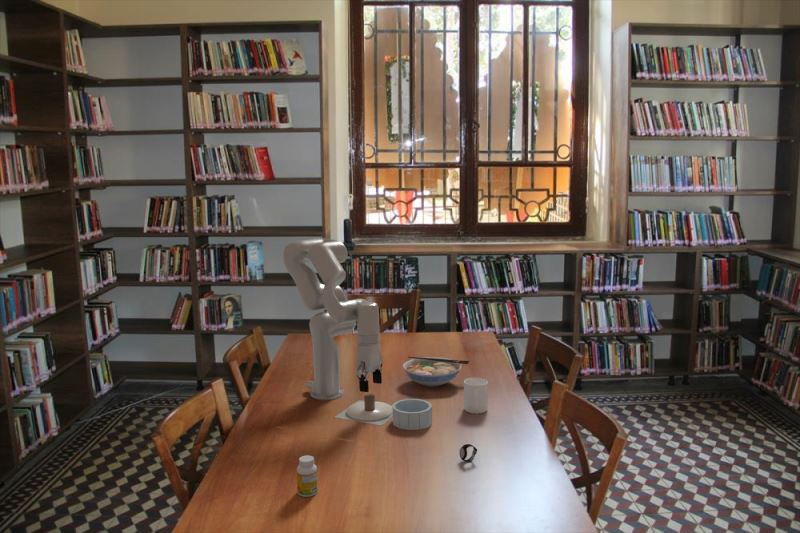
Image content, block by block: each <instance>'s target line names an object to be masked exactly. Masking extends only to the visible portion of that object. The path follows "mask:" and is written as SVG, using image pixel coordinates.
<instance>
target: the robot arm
mask: <svg viewBox="0 0 800 533" xmlns="http://www.w3.org/2000/svg"><path fill="white" fill-rule="evenodd" d="M282 251H283V252H282V253H283V255H282V259H283V263H284V266H285V268H286V270H287V272H288V274H289V275H290V276H291V278H292V280H293V281H294V284H295V285H296V288H297V291H298V293H299V295H300V297H301V301H302V303H303V305H304V306H305V308H306V310H307V311H309V312H313V313H314V312H318V313H316V314H313V316H312V317H311V318H310V320H309V325H308V326H309V330H310V335H311V340H312V356H313V380H307V382H306V384H305V385H306V386H305V387H306V388H310V389H311V390H310V392H309V394H310V395H309V396H310V397H311V398H312V399H314V400H319V401H332V400H336V399H340V398H342V397H343V396H344V395H345V390H344V389H343V388H341V378H340V377H341V376H340V374H341V373H340V372H341V371H340V369H341V368H340V349H339V344H338V343H337V342H336V340H335V339H334V337H336V336H341V335H346V334H349V333H351V332H353V330H354V329H355V326H357V327H356V330H357V349H356V375H357V378H358V382H359V384H358V385H359V386H358V388H359V392H362V393H368V392H369V389H370V388H369V387H370V386H369V380H368V378H369V375H370V374H372V383H373V384H379V385H380V384H382V382H383V379H382V377H383V376H382V371H383V368H382V367H383V359H384V358H383V357H382V353H381V352H382V351H381V338H380V337H381V335H380V334H381V333H380V329H381V328H380V313H379V311H380V310H379V309H380V308H379V304H378V303H376V302H374V301H368V300H367V299H364V298H355V299H349V300H348V298H347V296H346V294H345V292H344V290H343V288H342V287H341V286H340V285H341V284H342V283H343V282H344V280H346V277H347V275H346V274H347V272H346V271H345V270H344V268H343V266H342V263H344V262H345V261H346V260H347V259H348V254H349V253H348V249H347V247H346V246H345V244H344V243H343V242H341V241H339V240H337V239H331V238H325V237H318V238H317V237H316V238H311V239H310V238H309V239H299V240H294V241H290V242H289V243H287V244H286V245H285V246H284V248H283V250H282ZM306 263H312V265H313V267H314V269H315V270H316V272H317V273H316V272H315V271H314V269H312V268H311V267H310V266H309V265H307V264H306ZM317 274H318V275H317ZM318 276H319V277H320V278H321V280H322V282H323V283H321V282H320V280H319V277H318Z"/></svg>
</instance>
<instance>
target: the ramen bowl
mask: <svg viewBox="0 0 800 533" xmlns="http://www.w3.org/2000/svg"><path fill="white" fill-rule="evenodd" d="M407 358H409V360H408V361H407V360H406V361H405V362H404V363H403V364H402V368H403V369H404V371H405V373H406V374H407V376H408V377H409V379H411V380H412V381H413V382H415V383H417V384H420V385H423V386H425V387H432V388H434V387H440V386H442V385H445V384H447V383H449V382H452V381H453V380H455V378H456V377H457V375H458V374H459V373H460V371H461V368H462V364H463V365H468V364H469V363H470V360H462V359H461V360H460V359H459V360H458V359H452V358H447V357H439V356H438V357H437V356H425V357H417V356H416V357H415V356H414V357H413V356H407Z"/></svg>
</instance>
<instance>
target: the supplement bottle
mask: <svg viewBox="0 0 800 533" xmlns="http://www.w3.org/2000/svg"><path fill="white" fill-rule="evenodd" d="M296 484H297V485H296V487H297V488H296V491H297V494H298V495H299V496H301V497H304V498H309V497H313V496H316V495H317V493H318V492H319V491H318V490H319V488H318V467H317V465H316V464H315V457H314V456H312V455H307V454H306V455H303V456H300V457H299V459H298V466H296Z"/></svg>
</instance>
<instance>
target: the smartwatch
mask: <svg viewBox="0 0 800 533" xmlns="http://www.w3.org/2000/svg"><path fill="white" fill-rule="evenodd" d="M470 447H472V448H473V450H472V453H471V456H470V457H469V458H468V459H467V456H468V448H470ZM477 453H478V449H477V448H476V447H475V446H473V445H472V444H470V443H468V444H466V443H465V444H463V445H462V446H461V448H460V449H459V456H460V460H462V461H463V462H465V463H471V462H472V461H473V460H474V459H475V456H476V455H477Z"/></svg>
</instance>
